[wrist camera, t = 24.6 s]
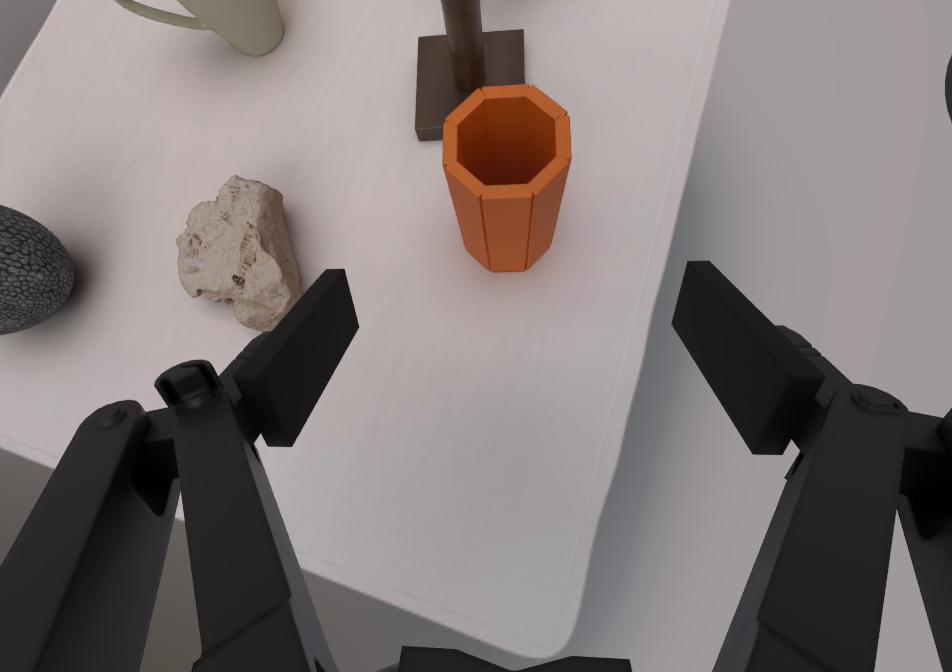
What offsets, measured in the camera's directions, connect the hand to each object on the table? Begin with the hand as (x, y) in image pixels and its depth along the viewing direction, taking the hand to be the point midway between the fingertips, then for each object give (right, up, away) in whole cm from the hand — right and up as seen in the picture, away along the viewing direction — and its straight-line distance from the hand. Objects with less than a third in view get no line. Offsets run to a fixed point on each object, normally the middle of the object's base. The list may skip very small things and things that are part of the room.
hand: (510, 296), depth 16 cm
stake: (-2, +20, +19) cm, 27 cm away
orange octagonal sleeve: (+1, +7, +16) cm, 18 cm away
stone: (-19, +5, +18) cm, 26 cm away
